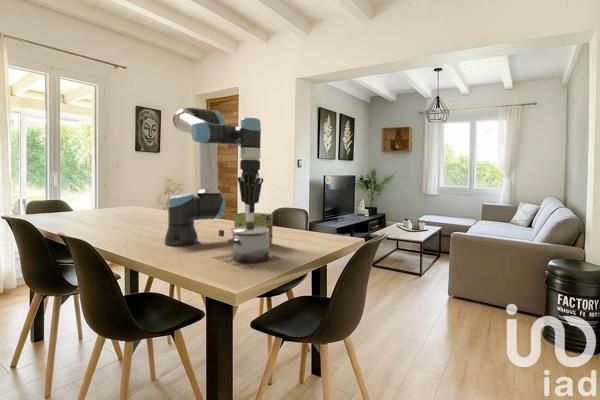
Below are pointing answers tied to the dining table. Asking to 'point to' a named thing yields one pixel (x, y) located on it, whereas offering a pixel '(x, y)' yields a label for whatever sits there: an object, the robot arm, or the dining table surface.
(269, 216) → the protein box
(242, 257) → the pot
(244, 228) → the lid
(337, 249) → the dining table surface
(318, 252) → the dining table surface
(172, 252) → the dining table surface
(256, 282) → the dining table surface
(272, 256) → the board
